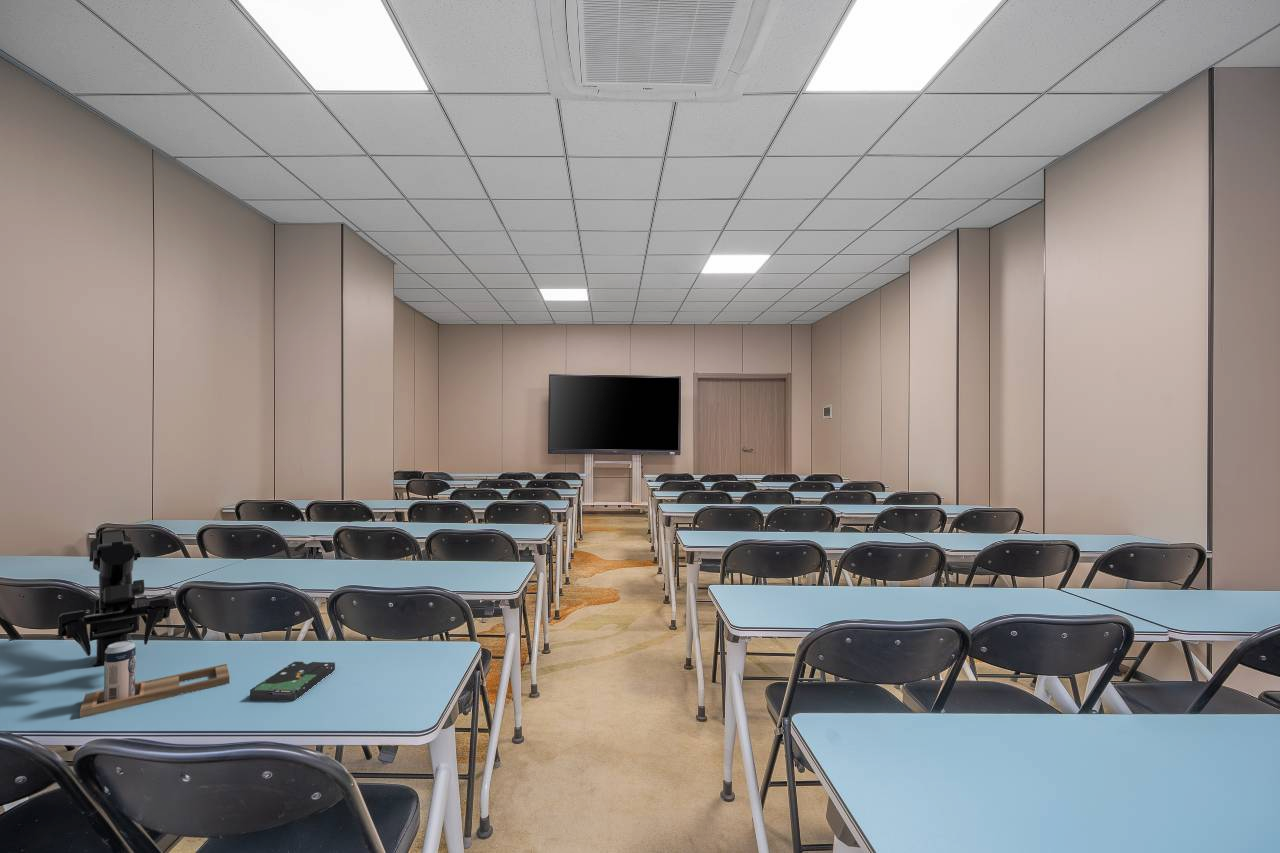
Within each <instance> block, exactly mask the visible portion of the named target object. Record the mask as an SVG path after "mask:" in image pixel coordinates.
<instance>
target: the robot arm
mask: <svg viewBox="0 0 1280 853" xmlns="http://www.w3.org/2000/svg"><path fill="white" fill-rule="evenodd" d="M132 541H133V540H132V537H130V536H128V535H127V534H126V532H125V529H122V528H117V529H107V530H106V529H105V530H101V531H99V533H98V536H97V537H95V538H94V539H93V540H92V541H90V542H89V559H88V560H89V563H91V562H92V569H93V570H94V571H97V572H99V574H98V591H99V592H98V594H99V595H98V598H99V599H97V600H96V601H95V606H94V607H93V614H88V615H85V610H84V609H81V610H75V611H68V612H62V613H61V614H60V615H59V616H58V620H57V625H58V626H57V637H61V638H62V637H63V638H66V639H67V640H68V639H69V640H70V639H73V640H74V641H75V642H76V643H77V644H79V646H80V647H81V649H82V651H84V653H85V654H86V656H87V657H90V656H91V653H92V652H91V651H92V650H91V648H92V647H91V643H90V642H93V641H96V656H95V657H94V659H93V663H92V666H93V667H96V666H102V665H104V658H105V650H106V649H107V647H108V646H109V645H110V644H113V643H116V642H122V641H129V634H136V633H137V632H138V631H140V618H141V616H147V617H146V620H145V630H144V638H143V644H144V645H148V642H149V639H150V637H151V634H152V632H153V630H154V628H155V627H156V625H157V623H161V622H162V621H163V619H167V618H169V617H170V614H171V609H172V599H171V598H170V597H168V596H165V597H159V598H152V599H148V603H147V605H145V606H144V605H143V606H138V607H135V606H134V605H135V603H136V596H141V595H144V593H145V579H137V580H133V575H132V572H133V570H134V562H135V561H138V559H139V558H141V551H140V550H139V549H138V548H137V546H134V544H133V542H132ZM88 625H89V631H88Z"/></svg>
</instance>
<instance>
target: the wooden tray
mask: <svg viewBox="0 0 1280 853" xmlns="http://www.w3.org/2000/svg"><path fill="white" fill-rule="evenodd" d="M214 675H216V676H215V677H213V678H209V679H205V680H201V681H196V682H191V683H187V684H183V685H180V683H181V681H183V682H186V681H185V680H187V681H191V680H190V679H192V680H195V679H196V680H197V679H201V678H205V677H209V676H214ZM226 683H228V684H230V673H229V669H228V664H227V663H224V664H220V665H219V664H218V665H215V666H210V667H205V668H201V669H195V670H191V671H187V672H182V673H177V674H172V675H169V676H164V677H159V678H155V679H149V680H141V681H137V682H135V693H137V692H139V694H136V695H134V696H131V697H126V698H122V699H117V700H113V701H108V702H104V701H103V702H100V701H101V700H104V689H99V690H95V691H93V692H89V693H85V694H84V698H83V700H82V703H81V706H80V710H79V719H82V718H85V717H91V716H95V715H99V714H103V713H108V712H112V711H116V710H121V709H125V708H129V707H133V706H138V705H142V704H146V703H151V702H155V701H159V700H164V699H167V698H172V697H175V696H174V695H177V696H179V695H178V694H181V693H185V694H187V693H186V692H190V693H193V692H192V691H194V692H197V691H196V690H198V691H202V690H201V689H203V690H205V689H206V688H207V689H211V688H214V686H215V687H218V686H217V685H220V686H222V684H224V685H227V684H226ZM210 687H211V688H210ZM181 695H182V694H181ZM99 702H100V703H99Z"/></svg>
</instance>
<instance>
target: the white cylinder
mask: <svg viewBox="0 0 1280 853" xmlns="http://www.w3.org/2000/svg"><path fill="white" fill-rule="evenodd" d="M136 647H137V646H136V644H135V643H134V641H133V640H128V641H122V642H116V643H113V644H110V645H109V646H108V647H107V649H106V650H105V658H104V664H103V665H104V669H103V672H104V673H103V690H104V699H103V703H104V702H108V701H113V700H117V699H122V698H126V697H131V696H135V694H136V692H135V683H136V651H137V650H136V649H137V648H136Z"/></svg>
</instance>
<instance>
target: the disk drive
mask: <svg viewBox="0 0 1280 853" xmlns="http://www.w3.org/2000/svg"><path fill="white" fill-rule="evenodd" d="M334 670H335V671H336V662H329V661H328V662H326V661H325V662H323V661H311V662H309V663H305V662H304V661H293V662H291V663H290V664H288V665H287V666H285V667H284V668H282V669H280V670H279V671H277V672H276V673H275V674H273V675H271V676H269V677H268V678H267V679H264V680H263V681H261V682H260V683H258V684H257V685H255V686H254V687H252V688H251V689H249V700H250V701H277V700H296V699H297V698H299V697H300V696H301V697H303V696H304V695H305V694H306V693H305V692H307V691H308V690H309V689H311V688H312V687H313V686H314V685H316V684H317V683H318V682H320V681H321V680H322V679H323V678H325V677H326V676H328V675H329V674H331V673H332V672H333V671H334ZM332 674H333V673H332ZM332 674H331V675H332ZM328 677H329V676H328ZM325 679H326V678H325ZM321 682H322V681H321ZM321 682H320V683H321ZM317 685H318V684H317ZM317 685H316V686H317ZM313 688H314V687H313ZM313 688H312V689H313ZM312 689H311V690H312ZM309 691H310V690H309ZM309 691H308V692H309ZM308 692H307V693H308ZM304 693H305V694H304ZM303 694H304V695H303ZM302 695H303V696H302ZM301 697H300V698H301ZM300 698H299V699H300ZM297 700H298V699H297ZM297 700H296V701H297Z"/></svg>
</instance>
